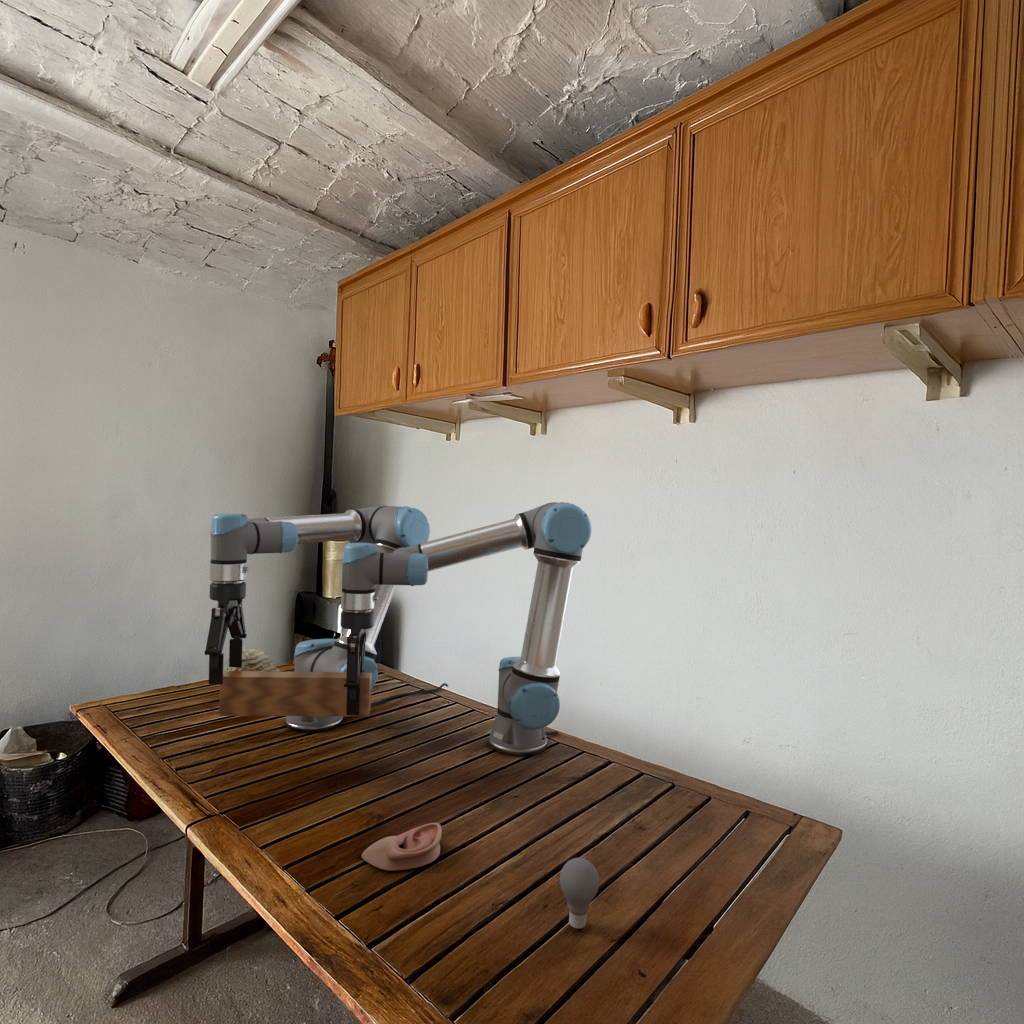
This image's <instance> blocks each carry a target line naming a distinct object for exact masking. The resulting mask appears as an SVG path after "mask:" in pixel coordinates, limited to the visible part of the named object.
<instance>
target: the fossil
mask: <svg viewBox="0 0 1024 1024" xmlns="http://www.w3.org/2000/svg"><path fill="white" fill-rule="evenodd" d="M227 671H270V672H281V669H279V668H278V667H277V665H276V663H275V662H274V660H273V659H272V658H271V657H270V656H269V655H268V654H267V653H266V652H265V650H264V649H263V648H260V647H258V648H251V647H247V646H246V647H245V646H242V667H229V659H228V660H227V663H226V666H225V668H224V671H223V674H224V673H226V672H227Z"/></svg>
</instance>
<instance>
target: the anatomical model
mask: <svg viewBox="0 0 1024 1024" xmlns="http://www.w3.org/2000/svg"><path fill="white" fill-rule="evenodd" d="M442 835H443V829H442V826H441V824H440V823H439V822H430V823H425V824H422V825H419V826H417V827H414V828H412V829H410V830H407V831H404V832H402V833H399V834H397V835H389V836H385V837H383V838H381V839H379V840H377V841H375V842H373V843H372V844H370V845H369V846H368V847H367V848H366V849H364V851H362V852H361V853H362V854H361V858H362V859H363V861H365V862H366V863H368V864H370V865H371V866H373V867H375V868H377V869H379V870H384V871H387V872H389V871H390V872H391V871H403V870H412V869H416V868H419V867H423V866H426V865H428V864H431V863H433V862H434V861H435V860H437V859H439V856H440V855H441V844H440V842H441V839H442Z"/></svg>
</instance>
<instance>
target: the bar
mask: <svg viewBox="0 0 1024 1024" xmlns="http://www.w3.org/2000/svg"><path fill="white" fill-rule="evenodd" d="M346 678H347V672H294V671H280V672H270V671H227V672H226V673H224V672H223V684H219V702H218V703H219V706H218V707H219V708H218V716H219V717H286V716H343V717H369V716H370V713H371V711H372V706H371V704H372V690H373V688H372V673H360V676H359V686H360V699H359V715H346V711H347V687H344V684H346Z"/></svg>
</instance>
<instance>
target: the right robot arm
mask: <svg viewBox="0 0 1024 1024" xmlns="http://www.w3.org/2000/svg"><path fill="white" fill-rule="evenodd" d="M592 530H593V529H592V523H591V520H590V517H589V515H588V513H586V511H585V510H584V509H582V508H581V507H580V506H578V505H576V504H574V503H570V502H563V501H561V502H555V501H554V502H553V501H552V502H548V503H545V504H542V505H539V506H537V507H534V508H532V509H530V510H529V509H528V510H525V511H523V512H520V513H516V514H515V516H514V518H512V519H508V520H505V521H504V520H503V521H500V522H497V523H492V524H489V525H486V526H481V527H478V528H475V529H470V530H466V531H463V532H458V533H454V534H452V535H448V536H444V537H440V538H436V539H432V540H428V541H427V542H424V543H420V544H418V545H413V546H409V547H401V548H398V549H395V550H394V551H393V552H392V553H381V552H377V546H376V545H375V544H372V543H364V542H355V543H350V542H349V543H346V545H345V546H344V547H343V552H342V553H343V555H342V557H343V558H342V563H341V565H342V567H341V593H340V594H341V595H340V598H341V600H340V609H342V611H340V627H341V628H342V629H345V630H346V629H349V630H351V632H350V634H349V636H347V678H346V684H344V687H347V711H346V715H359V699H360V686H359V676H360V673H364V671H365V670H364V660H365V642H366V639H367V635H366V632H364V629H369V628H372V627H373V626H374V611H373V610H372V609H373V608H374V604H375V601H374V600H377V599H378V598H377V596H374V594H375V585H396V586H410V587H415V586H425V585H426V584H427V583H428V579H429V577H428V576H429V572H433V571H436V570H440V569H444V568H447V567H451V566H456V565H459V564H462V563H466V562H469V561H473V560H478V559H481V558H482V559H483V558H485V557H489V556H493V555H496V554H500V553H504V552H507V551H512V550H515V549H519V548H521V549H524V550H530V549H533V551H532V552H533V553H532V554H533V556H534V557H535V559H536V560H537V565H536V572H535V576H534V582H533V587H532V592H531V597H530V603H529V609H528V616H527V621H526V626H525V632H524V637H523V642H522V648H521V654H520V656H508V657H507V656H506V657H503V658H502V659H501V660H500V661H499V667H498V687H497V709H496V710H497V712H496V716H495V720H494V722H493V725H492V728H491V730H490V733H489V735H488V745H489V747H490V748H491V749H492V750H493V751H496V752H498V753H500V754H504V755H509V756H513V757H514V756H515V757H527V756H528V757H529V756H533V755H535V756H536V755H538V754H541V753H543V752H544V751H545V750H547V747H548V737H547V736H554V735H559V731H558V730H553V731H546V730H545V728H547V727H548V726H549V725H550V724H552V723H553V722H554V721H555V720H556V718H557V717H558V715H559V713H560V707H561V702H560V701H561V700H560V696H559V694H558V689H559V683H560V679H561V678H560V677H561V672H560V670H559V669H558V667H557V666H556V664H557V658H558V653H559V647H560V642H561V637H562V631H563V625H564V620H565V615H566V609H567V604H568V597H569V592H570V587H571V581H572V575H573V571H574V568H575V567H576V566H578V565H579V564H580V563H581V561H582V556H583V552H584V551H583V550H584V548H585V547H586V546H587V545H588V543H589V541H590V539H591V536H592Z"/></svg>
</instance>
